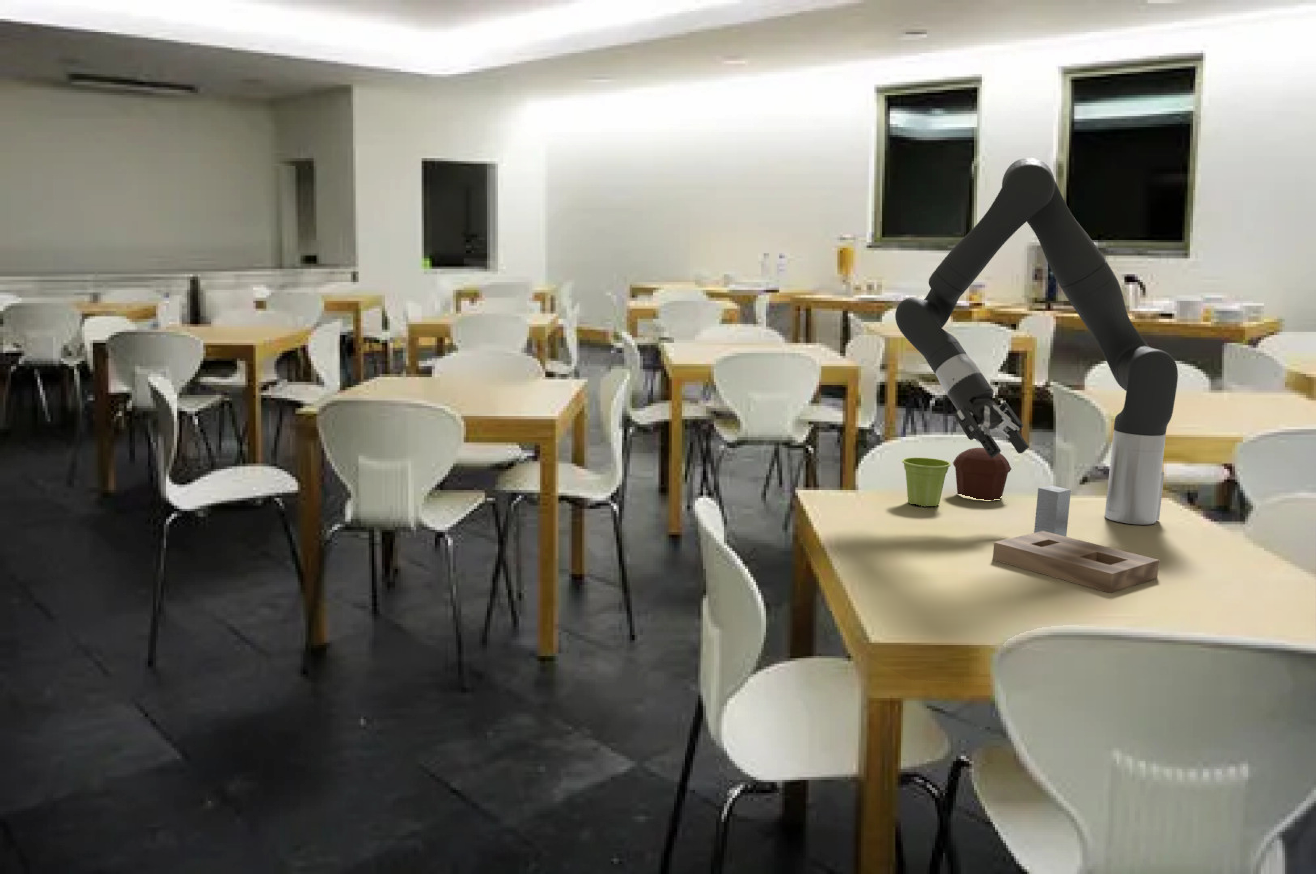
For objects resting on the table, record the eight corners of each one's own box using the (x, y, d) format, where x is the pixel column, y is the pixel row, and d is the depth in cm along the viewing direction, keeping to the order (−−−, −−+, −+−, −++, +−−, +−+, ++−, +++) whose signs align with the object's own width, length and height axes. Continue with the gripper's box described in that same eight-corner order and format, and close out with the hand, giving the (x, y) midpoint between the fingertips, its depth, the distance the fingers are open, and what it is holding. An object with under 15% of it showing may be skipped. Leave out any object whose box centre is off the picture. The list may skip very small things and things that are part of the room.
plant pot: (892, 499, 232) (894, 457, 231) (935, 498, 234) (938, 456, 232) (910, 510, 223) (913, 466, 221) (955, 509, 225) (958, 466, 223)
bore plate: (1041, 547, 198) (1042, 530, 198) (1157, 578, 182) (1159, 560, 182) (992, 559, 190) (994, 542, 189) (1110, 592, 173) (1112, 573, 173)
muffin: (1012, 495, 239) (1016, 448, 238) (1004, 505, 229) (1009, 456, 228) (955, 488, 244) (958, 442, 243) (945, 498, 234) (948, 450, 233)
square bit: (1046, 533, 208) (1051, 485, 207) (1066, 538, 205) (1070, 489, 203) (1033, 536, 206) (1038, 487, 204) (1053, 541, 203) (1058, 492, 201)
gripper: (953, 373, 210) (1001, 444, 203) (999, 369, 219) (1046, 437, 212) (927, 397, 215) (973, 468, 208) (974, 393, 224) (1019, 461, 217)
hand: (1010, 453), depth 210 cm, fingers open, 8 cm apart
